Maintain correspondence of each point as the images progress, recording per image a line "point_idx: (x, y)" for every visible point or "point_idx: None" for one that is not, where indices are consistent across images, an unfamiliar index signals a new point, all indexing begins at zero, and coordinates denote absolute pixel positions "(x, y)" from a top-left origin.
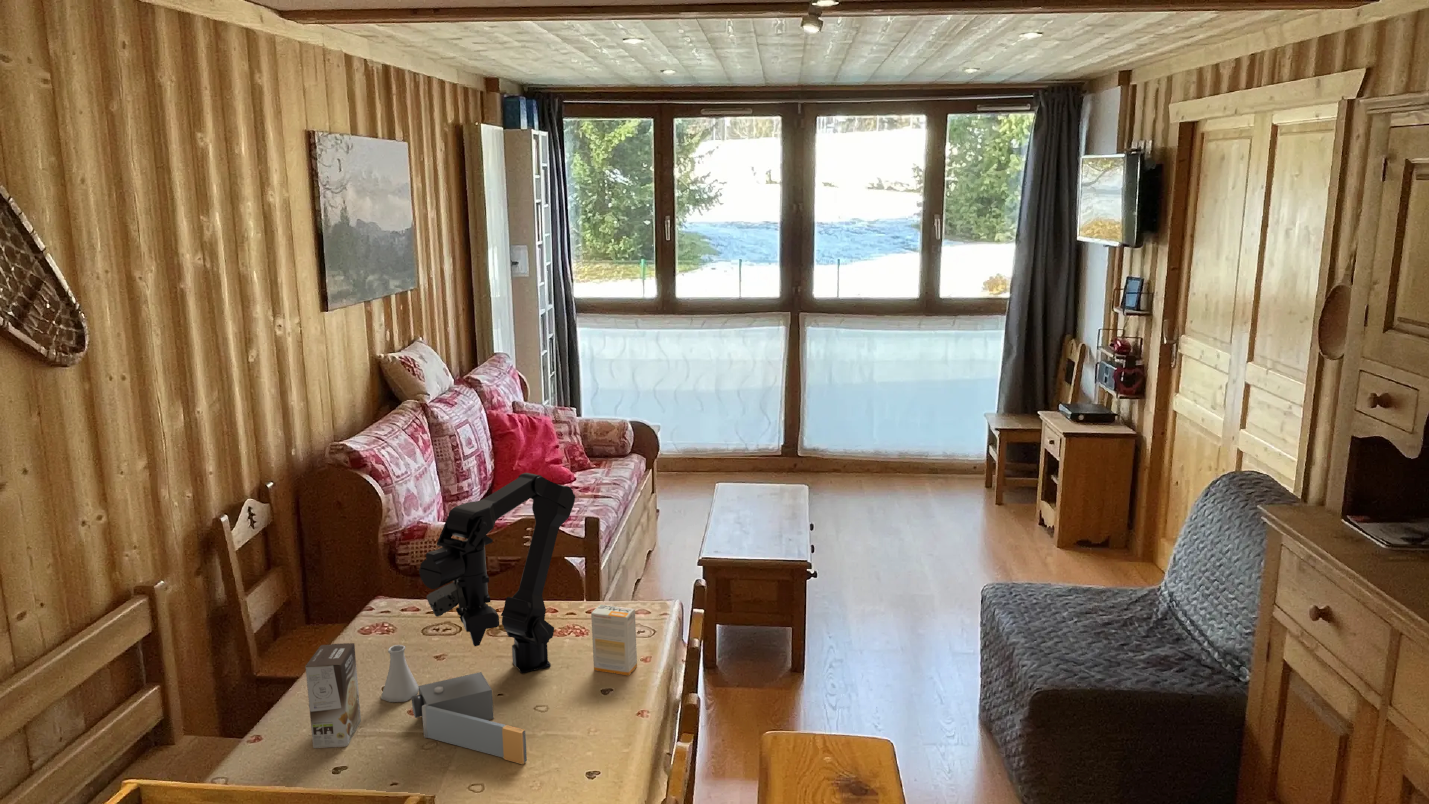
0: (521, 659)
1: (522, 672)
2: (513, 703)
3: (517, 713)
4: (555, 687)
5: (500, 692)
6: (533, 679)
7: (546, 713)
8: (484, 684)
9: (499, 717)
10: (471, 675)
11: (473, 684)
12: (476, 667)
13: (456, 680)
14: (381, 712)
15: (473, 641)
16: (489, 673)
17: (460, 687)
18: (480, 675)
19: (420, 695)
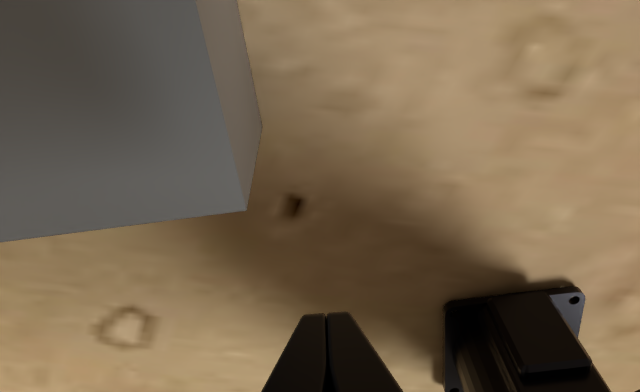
0: (492, 345)
1: (445, 308)
2: (191, 245)
3: (96, 250)
4: None
5: (313, 208)
6: (376, 330)
7: (80, 337)
8: (43, 213)
9: None
10: (208, 144)
11: (49, 145)
12: (633, 132)
13: (141, 21)
14: None
15: (275, 365)
16: (528, 184)
17: (3, 43)
18: (189, 202)
19: None
